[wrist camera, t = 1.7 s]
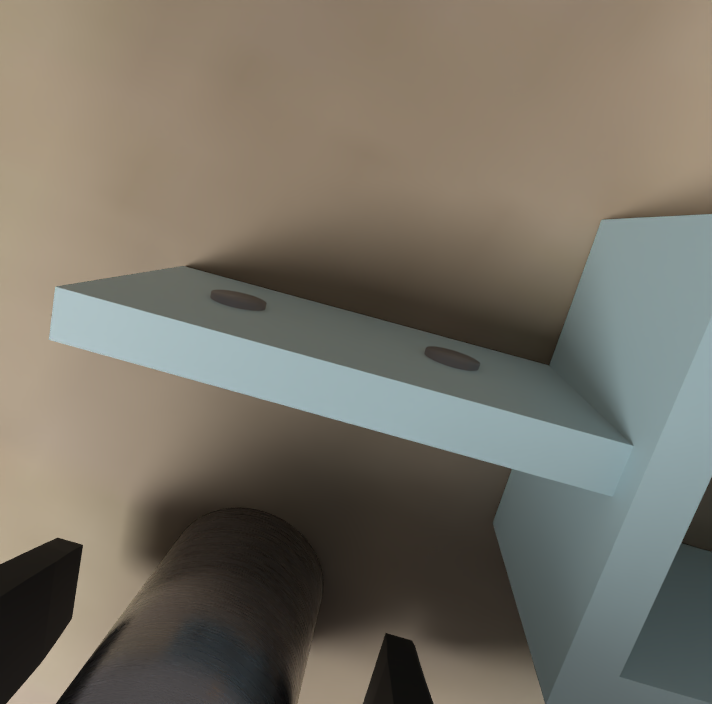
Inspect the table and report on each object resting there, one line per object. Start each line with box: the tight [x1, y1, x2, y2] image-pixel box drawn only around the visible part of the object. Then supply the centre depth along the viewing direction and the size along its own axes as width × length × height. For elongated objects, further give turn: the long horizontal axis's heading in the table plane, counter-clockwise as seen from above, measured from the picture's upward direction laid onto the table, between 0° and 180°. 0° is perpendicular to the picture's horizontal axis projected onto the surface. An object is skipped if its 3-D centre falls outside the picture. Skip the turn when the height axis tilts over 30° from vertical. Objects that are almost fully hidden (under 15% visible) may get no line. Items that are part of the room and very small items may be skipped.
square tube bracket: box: [49, 214, 712, 704], centre depth 10 cm, size 15×16×5 cm
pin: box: [56, 508, 323, 704], centre depth 10 cm, size 4×4×7 cm
